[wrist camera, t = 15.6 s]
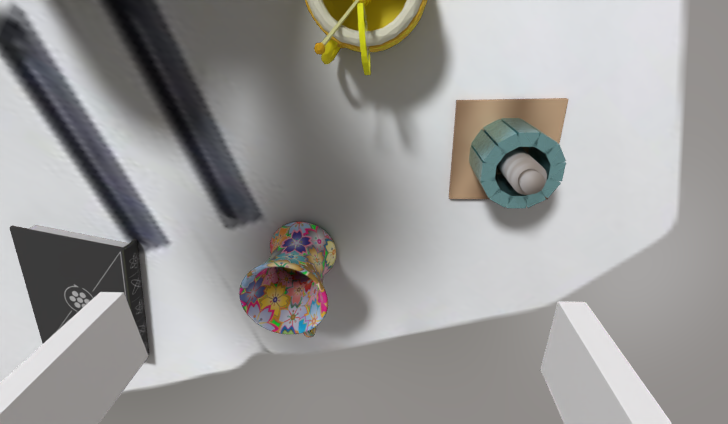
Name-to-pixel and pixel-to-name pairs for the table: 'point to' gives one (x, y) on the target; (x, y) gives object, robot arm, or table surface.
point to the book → (76, 274)
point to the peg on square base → (515, 163)
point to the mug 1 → (291, 281)
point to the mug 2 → (363, 25)
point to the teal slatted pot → (503, 140)
